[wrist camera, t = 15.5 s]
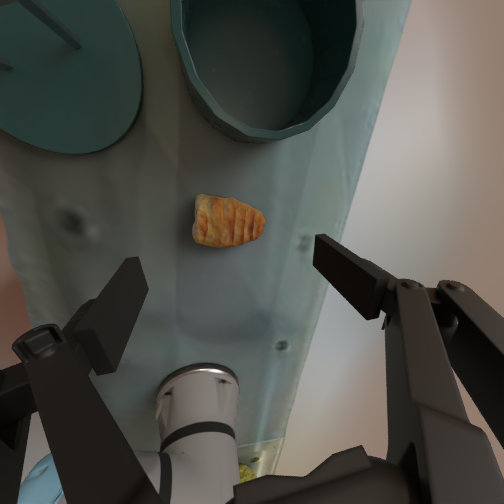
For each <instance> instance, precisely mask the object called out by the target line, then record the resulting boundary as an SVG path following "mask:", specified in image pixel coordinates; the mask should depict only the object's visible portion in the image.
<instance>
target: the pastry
mask: <svg viewBox="0 0 504 504" xmlns="http://www.w3.org/2000/svg"><path fill="white" fill-rule="evenodd" d="M265 224H266V220H265V218H264V216H263V215H262V213H261V212H260V211H259V210H257V209H255V208H252V207H251V206H249V205H248V204H246V203H243V202H240V201H237V200H236V199H235V198H232V197H228V198H223V197H217V196H208V195H205V194H199V195H198V196H197V197H196V201H195V223H194V224H193V227H192V228H193V231H192V234H193V237H194V240H195V242H196V243H198V244H204V245H207V246H211V247H215V248H216V247H231V246H237V245H241V244H243V243H246V242H249V241H254V240H255V239H257V238H258V237H259V236H260V235H261V234H262V232H263V229H264V226H265Z"/></svg>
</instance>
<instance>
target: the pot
mask: <svg viewBox="0 0 504 504" xmlns="http://www.w3.org/2000/svg"><path fill="white" fill-rule="evenodd" d="M170 6H171V27H172V33H173V37H174V41H175V45H176V49H177V53H178V57H179V61H180V65H181V69H182V72H183V75H184V77H185V80H186V83H187V86H188V89H189V91H190V94H191V97H192V100H193V102H194V104H195V105H196V106H197V107H198V109H199V110H200V112H201V113H202V114H203V116H204V117H205V118H206V119H207V120H208V122H209V123H210V124H211V125H212V127H214V128H215V129H217V130H218V131H220V132H221V133H223V134H224V135H226V136H228V137H230V138H232V139H233V140H235V141H239V142H246V143H256V144H262V143H268V142H273V141H278V140H282V139H285V138H288V137H291V136H293V135H296V134H299V133H302V132H305V131H308V130H309V129H311V128H312V127H313V126H314V125H315V124H316V123H317V122H318V121H319V120H320V119H321V118H323V117H324V116H325V115H326V114H327V113H328V112H329V111H330V110H331V109H332V108H333V107H334V106H335V104H336V102H337V101H338V99H339V97H340V95H341V93H342V91H343V90H344V88H345V86H346V84H347V82H348V80H349V79H350V77H351V75H352V73H353V71H354V67H355V63H356V58H357V54H358V50H359V45H360V41H361V36H362V32H363V28H364V3H363V0H170Z"/></svg>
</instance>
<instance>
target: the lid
mask: <svg viewBox="0 0 504 504" xmlns="http://www.w3.org/2000/svg"><path fill="white" fill-rule="evenodd" d="M142 94H143V72H142V66H141V59H140V55H139V51H138V48H137V44H136V41H135V39H134V36H133V33H132V30H131V28H130V26H129V24H128V22H127V20H126V18H125V16H124V14H123V12H122V10H121V8H120V7H119V5H118V3H117V2H116V0H0V129H2V130H4V131H5V132H7V133H9V134H10V135H12V136H14V137H15V138H17V139H20V140H22V141H24V142H26V143H28V144H30V145H33V146H36V147H38V148H41V149H45V150H49V151H52V152H58V153H65V154H86V153H93V152H97V151H101V150H103V149H106V148H108V147H110V146H112V145H113V144H115V143H117V142H118V141H119V140H120V139H121V138H123V137H124V136H125V135H126V133H127V132H128V131H129V130H130V128H131V127H132V125H133V124H134V122H135V120H136V118H137V115H138V112H139V110H140V106H141V101H142Z"/></svg>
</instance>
